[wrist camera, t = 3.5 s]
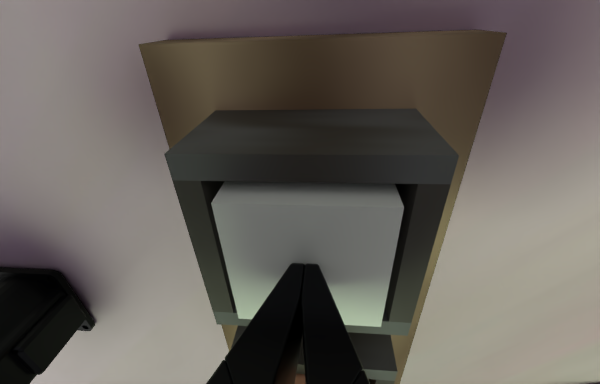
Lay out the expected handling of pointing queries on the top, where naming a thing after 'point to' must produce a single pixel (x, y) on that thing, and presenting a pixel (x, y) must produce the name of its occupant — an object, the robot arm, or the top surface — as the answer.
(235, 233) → the grey button
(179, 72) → the button board
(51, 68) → the top surface
